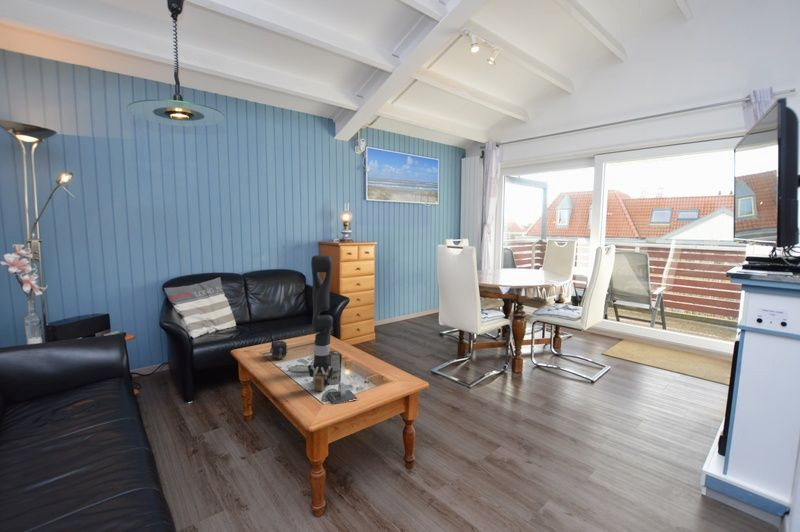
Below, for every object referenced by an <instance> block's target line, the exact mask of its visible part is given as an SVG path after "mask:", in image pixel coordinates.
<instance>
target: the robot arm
mask: <svg viewBox="0 0 800 532" xmlns="http://www.w3.org/2000/svg"><path fill="white" fill-rule="evenodd" d="M310 264H311V265H310V266H311V274H312V275H311V277H312V321H311V326H312V330H313V333H314V332H315V333H316V334H315V338H314V349H313V364H311V363H310V364H309V365H307V369H308V375H309V377H311V378H312V383H313V384H314V375H316V374H317V373H320V372H321V373H323V375H325V382H324V386H327V387H328V384H329V383H328V379H330V378H331V377H332V374H333V370H334V366H329V352H330V351H331V332H332V327H333V324H334V318H333V316H332V315H330V314H321V313H322V312H325V311H328V310H330V293H331V285H332V284H331V283H332V273H333V272H332V271H333V259H332V256H331V255H325V254H324V255H321V254H320V255H313V256H312V257H311V261H310ZM320 273H325V278H324V280H323V279H322V278H321V277H320ZM328 368H329V370H330V372H329V376H328V372H327V369H328Z"/></svg>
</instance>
